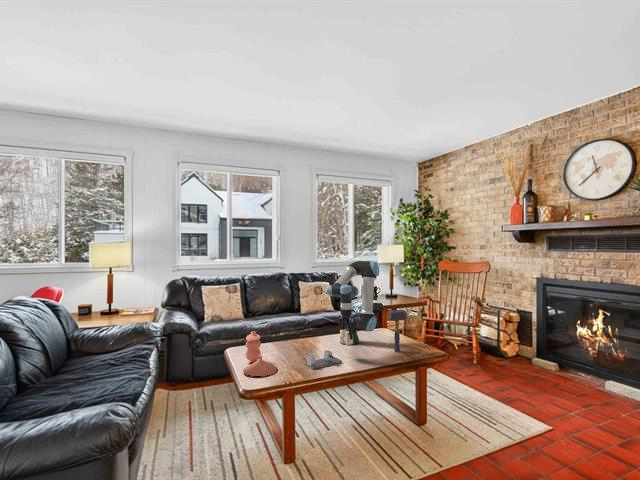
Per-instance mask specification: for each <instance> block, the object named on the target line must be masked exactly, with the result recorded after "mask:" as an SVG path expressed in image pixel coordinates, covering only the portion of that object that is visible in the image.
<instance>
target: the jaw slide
mask: <svg viewBox="0 0 640 480" xmlns="http://www.w3.org/2000/svg"><path fill="white" fill-rule="evenodd" d="M334 357H335V356H334V355H333V352H332V351H331V350H324V351H323V358H324V360H326V361H328V362H329V361H332V359H333V358H334Z"/></svg>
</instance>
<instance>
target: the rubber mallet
mask: <svg viewBox="0 0 640 480" xmlns="http://www.w3.org/2000/svg"><path fill="white" fill-rule="evenodd" d="M407 316H408V315H407V311H406V310H403V309H394V310H388V312H387V319H388V321H390V322H394V323H395V324H394V328H395V329H394V336H393V337H394V339H393V340H394V349H393V351H394V353H399V352H401V349H400V340H401V336H400V331H399V330H400V323H399V321H405V320H406V319H407Z"/></svg>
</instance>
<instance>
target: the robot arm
mask: <svg viewBox="0 0 640 480" xmlns="http://www.w3.org/2000/svg"><path fill="white" fill-rule="evenodd" d="M379 274H380V265H379V264H378V262H376V261H372V260H356V261H354V262H352V263H350V264H349V265H347V266H346V267H345V269H344V272H343V273H342V274H341V275H340V276H339V277H338V279H337V280H336V281H335V282H334V283H333V284H329V285H327V287H326V294H327V295H328V296H331V297H340V315H339V316H338V330H339V331H340V330H344V329H347V330H348V331H349V334H348V344H350V345H349V346H353V345H358V344H360V339H359V335H358V331H362V332H363V331H364V332H373V331H374V330H375V329H376V325H377V316H375V313H374V312H373V306H374V291H375V290H374V289H375V281H376V280H377V277H379ZM356 276H361V279H362V292H361V293H362V294H361V296H362V297H361V308H360V311H359V312H358V313H357V312H355V311H353V309H352V308H353V304H352V303H353V302H352V300H353V298H355V297H356V296H357V295H358V294H359V292H360V291H359V288H358V286H356V285H349V282H351V280H352V279H353V278H355V277H356ZM352 339H353V344H352ZM339 343H340V344H342V345H346V344H344V343H341V342H340V341H339ZM346 346H347V345H346Z"/></svg>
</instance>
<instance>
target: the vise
mask: <svg viewBox="0 0 640 480" xmlns="http://www.w3.org/2000/svg"><path fill="white" fill-rule="evenodd" d="M339 364H343V360H342V359H340V358H338V357H336V356H334V358H333V359H332V361H329V362H328V361H326V360H324V357H323V358H319V359H316V355H313V354H311V353H310V354H306V361H305V362H304V365H305V366H306V367H308V368H309V369H311V370H318V369H322V368H326V367H330V366H335V365H339Z"/></svg>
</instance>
